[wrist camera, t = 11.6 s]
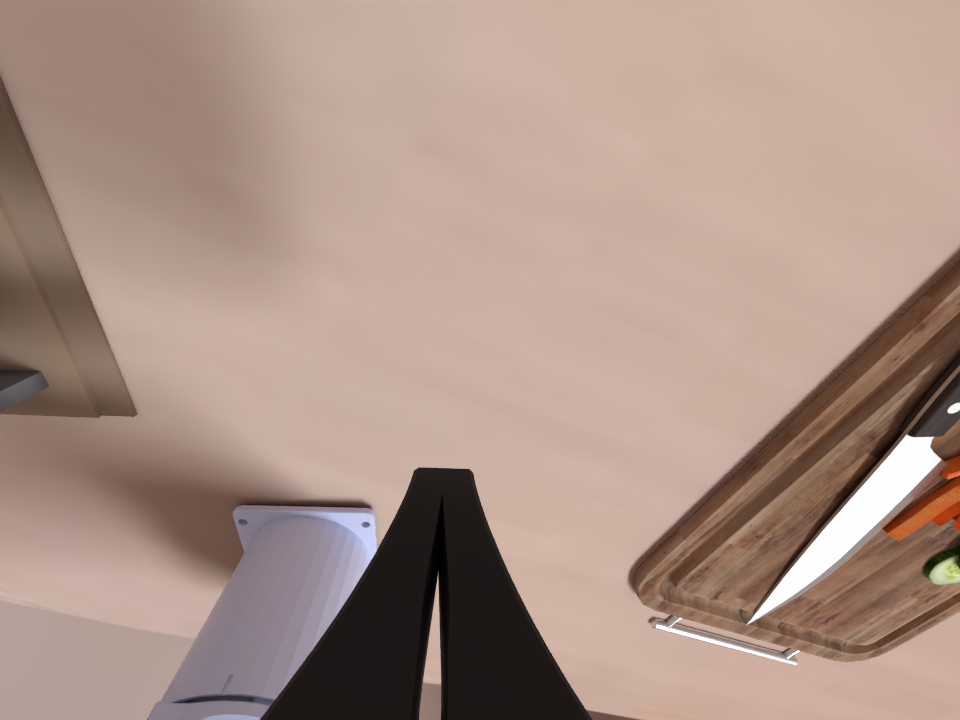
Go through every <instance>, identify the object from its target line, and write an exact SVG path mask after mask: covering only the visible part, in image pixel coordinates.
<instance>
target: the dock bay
mask: <svg viewBox="0 0 960 720" xmlns="http://www.w3.org/2000/svg"><path fill="white" fill-rule="evenodd" d="M0 414H17V415H43V416H68V417H93V418H98V417H100V416H101V415H106V416H131V417H134V416H136V415H137V413H136V410H135V408H134V405H133V403H132V400H131V398H130V395H129V393H128V390H127V388H126V385H125V383H124V381H123V378H122V376H121V373H120V371H119V368H118V366H117V363H116V361H115V358H114V356H113V353H112V351H111V349H110V346H109V344H108V341H107V339H106V336H105V334H104V331H103V329H102V326H101V324H100V321H99V319H98V317H97V314H96V312H95V309H94V307H93V304H92V302H91V299H90V297H89V294H88V292H87V289H86V287H85V285H84V282H83V280H82V277H81V275H80V272H79V270H78V267H77V265H76V262H75V260H74V257H73V255H72V253H71V250H70V248H69V245H68V243H67V240H66V238H65V235H64V233H63V230H62V228H61V225H60V223H59V221H58V218H57V216H56V213H55V211H54V208H53V206H52V203H51V201H50V198H49V196H48V193H47V191H46V189H45V186H44V184H43V181H42V179H41V176H40V174H39V171H38V169H37V166H36V164H35V161H34V159H33V157H32V154H31V152H30V149H29V147H28V144H27V142H26V139H25V137H24V134H23V132H22V129H21V127H20V125H19V122H18V120H17V117H16V115H15V112H14V110H13V107H12V105H11V102H10V100H9V97H8V95H7V93H6V90H5V88H4V85H3V83H2V80H1V78H0Z"/></svg>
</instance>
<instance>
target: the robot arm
mask: <svg viewBox="0 0 960 720" xmlns="http://www.w3.org/2000/svg"><path fill="white" fill-rule="evenodd" d="M232 516H233V519H234V522H235V525H236V528H237V532H238V535H239V538H240V541H241V544H242V548H243V551H244V555H243V556H242V558H241V560H240V562H239V563H238V565H237V567H236V569H235V571H234V572H233V574H232V576H231V578H230V579H229V581H228V583H227V585H226V586H225V588H224V590H223V592H222V594H221V595H220V597H219V599H218V601H217V602H216V604H215V606H214V608H213V609H212V611H211V613H210V615H209V617H208V618H207V620H206V622H205V624H204V625H203V627H202V629H201V631H200V632H199V634H198V636H197V638H196V640H195V641H194V643H193V645H192V647H191V649H190V650H189V652H188V654H187V655H186V657H185V659H184V661H183V663H182V664H181V666H180V668H179V670H178V671H177V673H176V675H175V677H174V679H173V680H172V682H171V684H170V686H169V687H168V689H167V691H166V693H165V695H164V696H163V698H162V700H161V701H159V702H157V703H156V705H155V706H154V708H153V710H152V711H151V713H150V715H149V717H148V719H147V720H419V710H420V701H421V692H422V683H423V675H424V668H425V661H426V654H427V647H428V640H429V633H430V626H431V619H432V612H433V605H434V598H435V591H436V584H437V576H438V574H439V612H440V648H441V720H592V719H591V717H590V715H589V714H588V712H587V711H586V709H585V708H584V706H583V705H582V703H581V702H580V700H579V698H578V697H577V695H576V694H575V692H574V691H573V689H572V688H571V686H570V684H569V683H568V681H567V680H566V678H565V676H564V674H563V673H562V671H561V669H560V668H559V666H558V664H557V663H556V661H555V659H554V658H553V656H552V654H551V652H550V651H549V649H548V647H547V646H546V644H545V642H544V640H543V638H542V637H541V635H540V633H539V631H538V629H537V628H536V626H535V624H534V622H533V620H532V618H531V616H530V615H529V613H528V611H527V609H526V607H525V605H524V603H523V601H522V599H521V597H520V595H519V593H518V591H517V589H516V587H515V585H514V583H513V581H512V579H511V576H510V574H509V572H508V570H507V568H506V566H505V563H504V561H503V559H502V557H501V554H500V552H499V550H498V547H497V545H496V542H495V540H494V538H493V535H492V533H491V530H490V528H489V525H488V522H487V520H486V517H485V514H484V511H483V508H482V505H481V502H480V499H479V496H478V492H477V489H476V485H475V480H474V475H473V472H472V471H471V470H470V469H449V468H417V469H416V470H415V471H414V473H413V476H412V479H411V482H410V485H409V487H408V490H407V492H406V494H405V497H404V499H403V501H402V503H401V505H400V508H399V510H398V512H397V514H396V516H395V518H394V520H393V522H392V524H391V525H390V527H389V529H388V531H387V533H386V535H385V537H384V539H383V540H382V542H381V544H380V546H379V548H378V550H377V538H376V522H375V513H374V511H373V510H372V509H369V508H346V507H303V506H261V505H240V506H237V507H236V508H235V510H234V511H233V513H232Z"/></svg>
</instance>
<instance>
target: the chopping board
mask: <svg viewBox="0 0 960 720" xmlns="http://www.w3.org/2000/svg"><path fill="white" fill-rule="evenodd" d="M633 586H634V588H635V591H636V593H637V596H638V597H639V599H640V600H641V602H642V603H643V605H645V606H647V607H649V608H651V609H653V610H655V611H659V612H663V613H666V614H670V615H673V616H671V617H670V618H669V619H668V620H666V621H665V620H662V619H658V618H654V619H653V620H652V621H651V622H650V625H651V626H652V627H653V628H655V629H659V630H663V631H666V632H670V633H674V634H678V635H681V636H685V637H689V638H693V639H697V640H700V641H704V642H708V643H712V644H715V645H719V646H723V647H727V648H730V649H734V650H738V651H742V652H746V653H749V654H753V655H757V656H761V657H764V658H768V659H772V660H776V661H780V662H783V663H787V664H791V665H797V663H798V660H797V658H796V657H795V656H793V655H795V654H796V653H798V652H799V651H802V652H805V653H809V654H812V655H816V656H820V657H823V658H827V659H830V660H834V661H840V662H854V661H863V660H866V659H870V658H873V657H877V656H879V655H882V654H884V653H886V652H888V651H890V650H893V649H894V648H896V647H898V646H900V645H901V644H903V643H905V642H907V641H909V640H910V639H912V638H914V637H916V636H917V635H919V634H921V633H923V632H924V631H926V630H928V629H930V628H932V627H933V626H935V625H937V624H939V623H940V622H942V621H944V620H946V619H948V618H949V617H951V616H953V615H955V614H956V613H958V612H960V261H959V262H958V263H957V264H956V265H955V266H954V267H953V268H952V269H951V270H950V271H949V272H948V273H947V274H946V275H945V276H944V277H943V278H942V279H941V280H939V281H938V282H937V283H936V284H935V285H934V286H933V287H932V288H931V289H930V290H929V291H928V292H927V293H926V294H925V295H924V296H923V297H922V298H921V299H920V300H918V301H917V302H916V303H915V304H914V305H913V306H912V307H911V308H910V309H909V310H908V311H907V312H906V313H905V314H904V315H903V316H902V317H901V318H900V319H899V320H897V321H896V322H895V323H894V324H893V325H892V326H891V327H890V328H889V329H888V330H887V331H886V332H885V333H884V334H883V335H882V336H881V337H880V338H879V339H878V340H876V341H875V342H874V343H873V344H872V345H871V346H870V347H869V348H868V349H867V350H866V351H865V352H864V353H863V354H862V355H861V356H860V357H859V358H858V359H857V360H855V361H854V362H853V363H852V364H851V365H850V366H849V367H848V368H847V369H846V370H845V371H844V372H843V373H842V374H841V375H840V376H839V377H838V378H837V379H835V380H834V381H833V382H832V383H831V384H830V385H829V386H828V387H827V388H826V389H825V390H824V391H823V392H822V393H821V394H820V395H819V396H818V397H817V398H816V399H814V400H813V401H812V402H811V403H810V404H809V405H808V406H807V407H806V408H805V409H804V410H803V411H802V412H801V413H800V414H799V415H798V416H797V417H796V418H795V419H793V420H792V421H791V422H790V423H789V424H788V425H787V426H786V427H785V428H784V429H783V430H782V431H781V432H780V433H779V434H778V435H777V436H776V437H775V438H774V439H772V440H771V441H770V442H769V443H768V444H767V445H766V446H765V447H764V448H763V449H762V450H761V451H760V452H759V453H758V454H757V455H756V456H755V457H754V458H752V459H751V460H750V461H749V462H748V463H747V464H746V465H745V466H744V467H743V468H742V469H741V470H740V471H739V472H738V473H737V474H736V475H735V476H734V477H733V478H731V479H730V480H729V481H728V482H727V483H726V484H725V485H724V486H723V487H722V488H721V489H720V490H719V491H718V492H717V493H716V494H715V495H714V496H713V497H712V498H710V499H709V500H708V501H707V502H706V503H705V504H704V505H703V506H702V507H701V508H700V509H699V510H698V511H697V512H696V513H695V514H694V515H693V516H692V517H691V518H689V519H688V520H687V521H686V522H685V523H684V524H683V525H682V526H681V527H680V528H679V529H678V530H677V531H676V532H675V533H674V534H673V535H672V536H671V537H669V538H668V539H667V540H666V541H665V542H664V543H663V544H662V545H661V546H660V547H659V548H658V549H657V550H656V551H655V552H654V553H653V554H652V555H651V556H650V557H648V558H647V559H646V560H645V561H644V562H643V563H642V565H641V566H640V567H639V569H638V570H637V572H636V573H635V574H634V583H633ZM682 618H684V619H688V620H691V621H695V622H698V623H702V624H705V625H709V626H713V627H716V628H720V629H723V630H727V631H730V632H734V633H737V634H741V635H745V636H748V637H752V638H755V639H759V640H762V641H766V642H770V643H773V644H777V645H780V646H784V647H787V648H790V649H788V650H787V651H785V652H783V653H782V652H779V651H775V650H771V649H768V648H764V647H760V646H757V645H753V644H749V643H746V642H742V641H738V640H735V639H731V638H727V637H724V636H720V635H716V634H713V633H709V632H705V631H702V630H698V629H695V628H691V627H687V626H684V625H680V624H676V623H677V622H678V621H679V620H680V619H682Z"/></svg>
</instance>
